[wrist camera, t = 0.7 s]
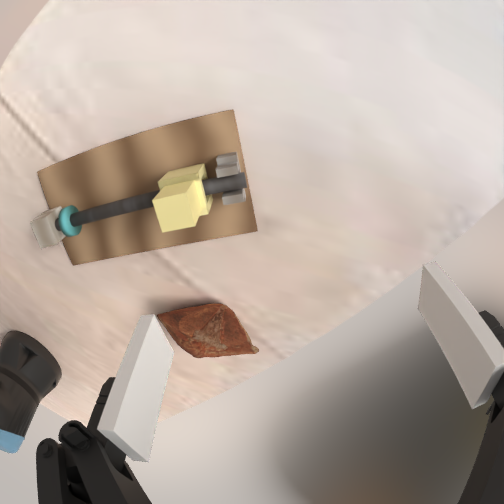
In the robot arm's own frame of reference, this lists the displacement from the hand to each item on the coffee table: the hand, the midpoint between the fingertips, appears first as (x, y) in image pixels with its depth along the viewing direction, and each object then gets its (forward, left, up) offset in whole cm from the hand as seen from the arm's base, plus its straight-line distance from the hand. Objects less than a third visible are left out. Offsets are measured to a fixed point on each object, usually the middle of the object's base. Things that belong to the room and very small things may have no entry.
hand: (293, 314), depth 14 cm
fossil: (-11, -17, -22) cm, 30 cm away
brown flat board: (-15, +2, -22) cm, 27 cm away
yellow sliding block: (-8, +2, -21) cm, 22 cm away
